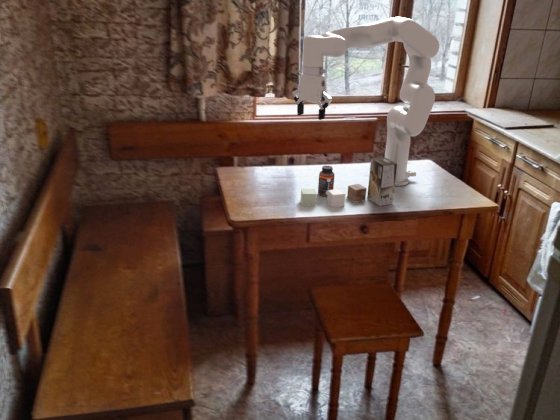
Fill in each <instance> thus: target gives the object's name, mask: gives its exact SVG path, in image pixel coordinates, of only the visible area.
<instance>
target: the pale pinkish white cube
mask: <svg viewBox="0 0 560 420" xmlns="http://www.w3.org/2000/svg"><path fill="white" fill-rule="evenodd" d="M326 203H327V204H328V205H329V206H331V208H337V207H345V203H346V193H345V192H344V191H343V190H342V189H341V188H336V189H335V188H334V189H333V190H328V194H327V197H326Z"/></svg>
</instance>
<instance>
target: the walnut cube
mask: <svg viewBox="0 0 560 420" xmlns="http://www.w3.org/2000/svg"><path fill="white" fill-rule="evenodd" d="M367 190H368V187H365V186H364V185H362V184H360V183H356V184H351V185H350V184H349V185H347V194H346V195H347V197H346V198H347V199H348V200H351V201H352V202H354V203H357V201H358V202H362V200H363V201H366V197H367V196H366V195H367Z"/></svg>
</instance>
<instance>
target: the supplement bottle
mask: <svg viewBox="0 0 560 420" xmlns="http://www.w3.org/2000/svg"><path fill="white" fill-rule="evenodd" d="M318 176H319V177H318V183H317V184H318V186H317V194H318V195H319V196H320V197H326V198H327V194H328V190H334V186H335V172H334V171H333V166H332V165H323V166H322V167H321V171H320V172H319V173H318Z"/></svg>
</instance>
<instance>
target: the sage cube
mask: <svg viewBox="0 0 560 420" xmlns="http://www.w3.org/2000/svg"><path fill="white" fill-rule="evenodd" d="M300 193H301V194H300V204H301V206H302V207H316V203H317V202H316V199H317V193H316V189H315V188H301V191H300Z"/></svg>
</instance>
